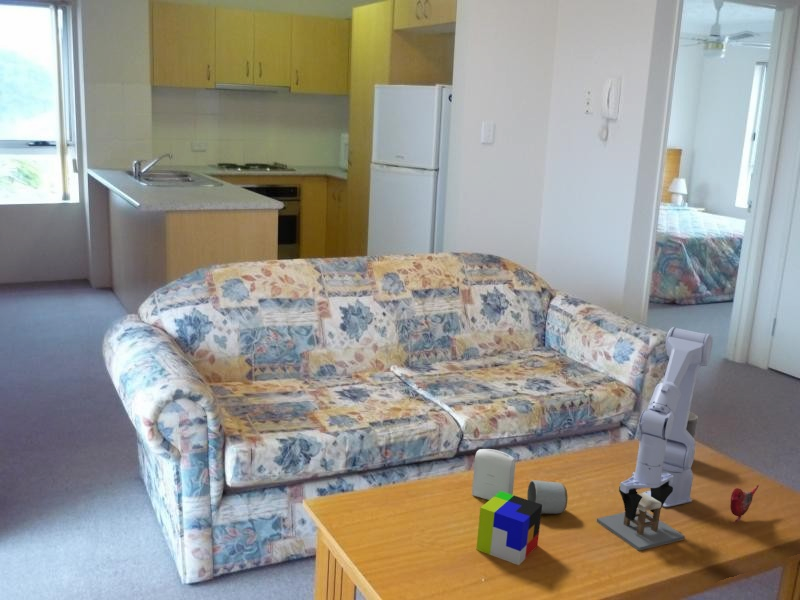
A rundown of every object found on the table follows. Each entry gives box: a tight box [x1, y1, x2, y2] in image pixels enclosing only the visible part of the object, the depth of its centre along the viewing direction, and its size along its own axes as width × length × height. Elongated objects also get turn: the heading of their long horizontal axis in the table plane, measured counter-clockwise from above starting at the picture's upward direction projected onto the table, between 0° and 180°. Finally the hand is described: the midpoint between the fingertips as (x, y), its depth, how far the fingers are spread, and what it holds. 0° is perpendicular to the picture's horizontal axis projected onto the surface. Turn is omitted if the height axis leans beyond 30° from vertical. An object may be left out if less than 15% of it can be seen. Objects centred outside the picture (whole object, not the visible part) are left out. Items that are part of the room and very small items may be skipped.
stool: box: [623, 492, 662, 535], centre depth 191 cm, size 5×5×7 cm
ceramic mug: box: [526, 479, 569, 515], centre depth 199 cm, size 11×8×8 cm
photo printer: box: [471, 448, 516, 501], centre depth 202 cm, size 10×4×12 cm, turn 63°
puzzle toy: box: [475, 491, 542, 566], centre depth 180 cm, size 10×10×10 cm
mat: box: [596, 508, 686, 552], centre depth 192 cm, size 14×14×1 cm
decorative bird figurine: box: [729, 484, 759, 524], centre depth 200 cm, size 3×18×10 cm, turn 137°
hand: (642, 515), depth 192 cm, fingers open, 7 cm apart
